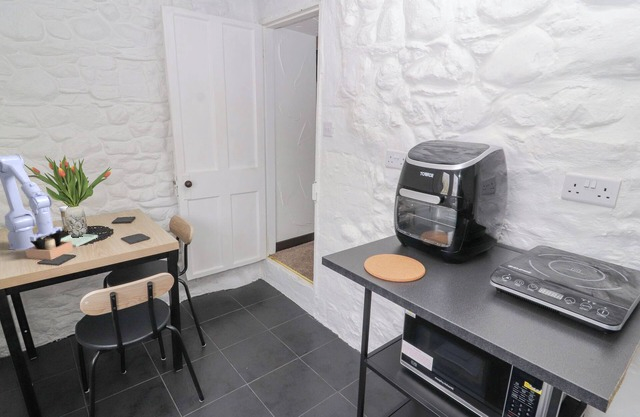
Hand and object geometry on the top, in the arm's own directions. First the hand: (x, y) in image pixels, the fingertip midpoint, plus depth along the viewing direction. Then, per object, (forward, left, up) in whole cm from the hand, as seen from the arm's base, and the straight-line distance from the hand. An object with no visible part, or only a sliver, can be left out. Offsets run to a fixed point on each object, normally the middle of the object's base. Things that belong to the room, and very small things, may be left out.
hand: (50, 250), depth 160 cm
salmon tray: (0, 0, -2) cm, 2 cm away
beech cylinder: (0, 0, -2) cm, 2 cm away
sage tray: (-2, +16, -2) cm, 16 cm away
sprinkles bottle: (-19, +31, -2) cm, 36 cm away
